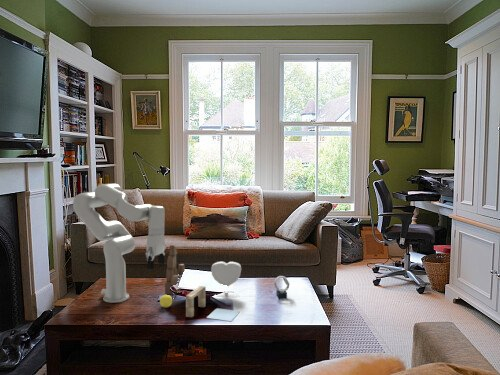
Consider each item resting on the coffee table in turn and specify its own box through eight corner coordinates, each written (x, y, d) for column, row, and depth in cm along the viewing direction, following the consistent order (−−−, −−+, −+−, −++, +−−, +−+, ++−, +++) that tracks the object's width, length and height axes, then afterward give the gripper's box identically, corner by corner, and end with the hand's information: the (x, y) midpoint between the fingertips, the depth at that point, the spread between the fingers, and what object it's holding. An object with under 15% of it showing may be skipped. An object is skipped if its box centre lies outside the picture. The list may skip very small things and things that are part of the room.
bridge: (186, 316, 183) (185, 295, 182) (200, 305, 197) (199, 285, 196) (191, 317, 182) (191, 296, 181) (205, 305, 196) (205, 286, 196)
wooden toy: (177, 295, 212) (176, 248, 210) (164, 294, 213) (164, 248, 211) (185, 285, 227) (185, 242, 225) (173, 285, 228) (173, 242, 226)
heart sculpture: (211, 297, 208) (210, 263, 207) (212, 294, 213) (212, 261, 212) (240, 297, 208) (240, 263, 207) (241, 294, 213) (241, 261, 212)
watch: (290, 298, 207) (290, 277, 207) (275, 299, 206) (275, 278, 205) (287, 294, 213) (288, 274, 212) (273, 295, 212) (273, 275, 211)
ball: (157, 308, 193) (157, 296, 192) (163, 304, 198) (163, 292, 198) (168, 310, 191) (168, 297, 190) (174, 305, 196) (174, 293, 196)
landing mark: (206, 318, 181) (206, 317, 181) (216, 308, 193) (216, 308, 193) (231, 321, 178) (231, 321, 178) (240, 311, 189) (240, 311, 189)
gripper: (158, 227, 203) (158, 260, 204) (139, 234, 187) (139, 269, 188) (172, 229, 201) (171, 262, 202) (153, 235, 184) (153, 271, 186)
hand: (156, 266), depth 195 cm, fingers open, 9 cm apart
